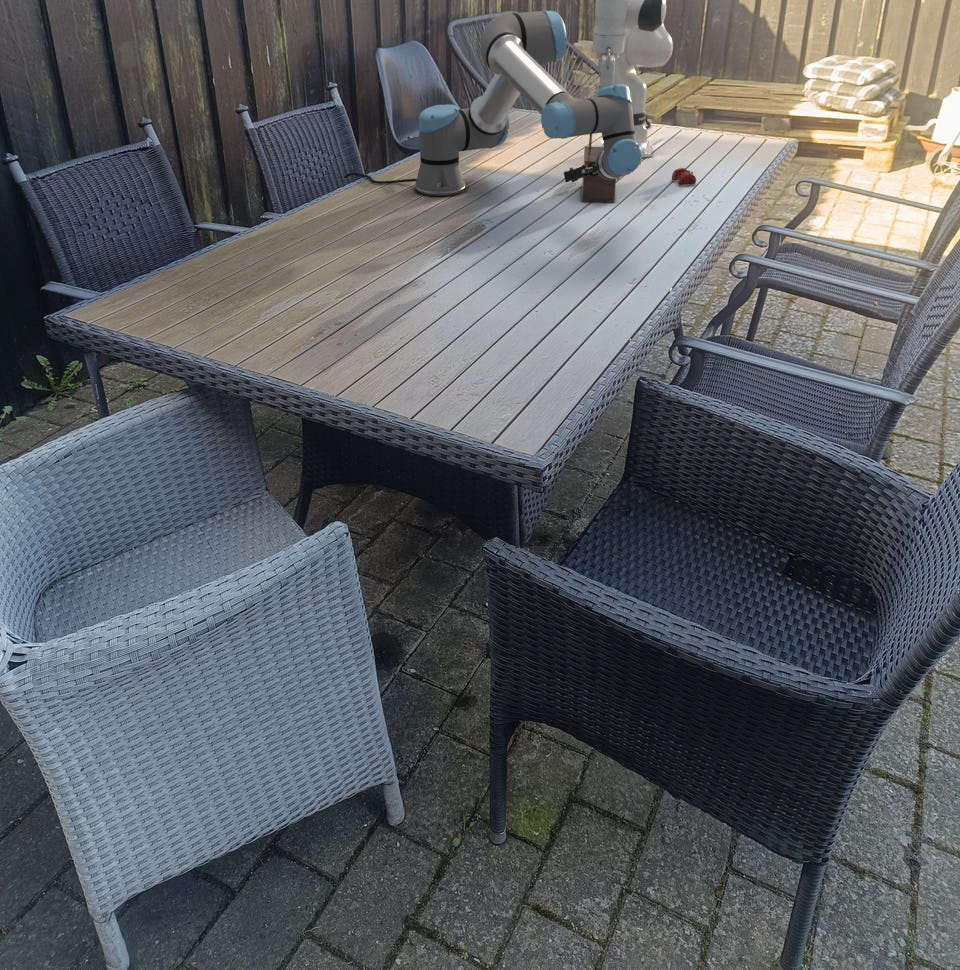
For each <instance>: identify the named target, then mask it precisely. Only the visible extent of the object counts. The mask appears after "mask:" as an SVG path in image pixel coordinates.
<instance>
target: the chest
mask: <svg viewBox="0 0 960 970" xmlns="http://www.w3.org/2000/svg"><path fill="white" fill-rule="evenodd" d="M583 165H585V159H584V158H583V164H582V166H583ZM596 174H597V173H596ZM581 180H582V181H581V202H582V203H583V202H585V203H615V195H616V194H615V193H616V185H617V184H616V183H617V179H614V180H605V179H603V178H601V177H600V176H599V175H598V176H594V177H592V176H587V177H584V178H581Z"/></svg>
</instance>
